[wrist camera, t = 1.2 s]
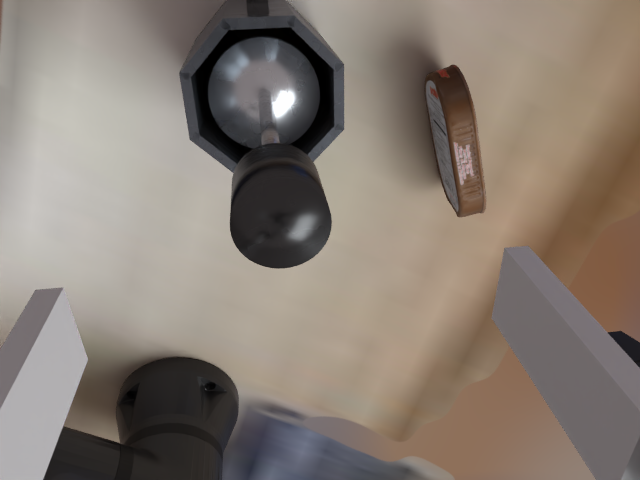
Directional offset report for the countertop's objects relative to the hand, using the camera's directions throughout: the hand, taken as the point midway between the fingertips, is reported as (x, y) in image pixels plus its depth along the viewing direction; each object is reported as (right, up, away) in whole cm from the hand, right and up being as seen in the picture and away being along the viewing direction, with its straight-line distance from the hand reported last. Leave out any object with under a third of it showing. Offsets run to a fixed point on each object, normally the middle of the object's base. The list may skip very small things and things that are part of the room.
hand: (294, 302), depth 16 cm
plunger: (-3, +13, +22) cm, 26 cm away
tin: (+13, +13, +38) cm, 42 cm away
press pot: (-5, +20, +31) cm, 37 cm away
